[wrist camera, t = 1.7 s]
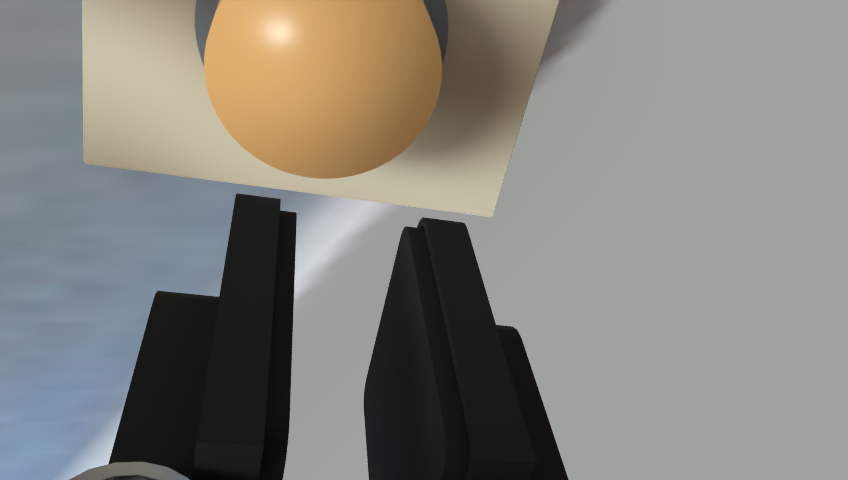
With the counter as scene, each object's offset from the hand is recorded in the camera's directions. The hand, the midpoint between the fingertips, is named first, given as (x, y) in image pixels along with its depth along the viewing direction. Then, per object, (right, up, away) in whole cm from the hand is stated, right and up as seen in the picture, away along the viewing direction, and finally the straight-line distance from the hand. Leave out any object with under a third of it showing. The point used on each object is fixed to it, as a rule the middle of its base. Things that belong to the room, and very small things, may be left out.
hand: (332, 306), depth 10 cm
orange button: (-1, +5, +8) cm, 10 cm away
